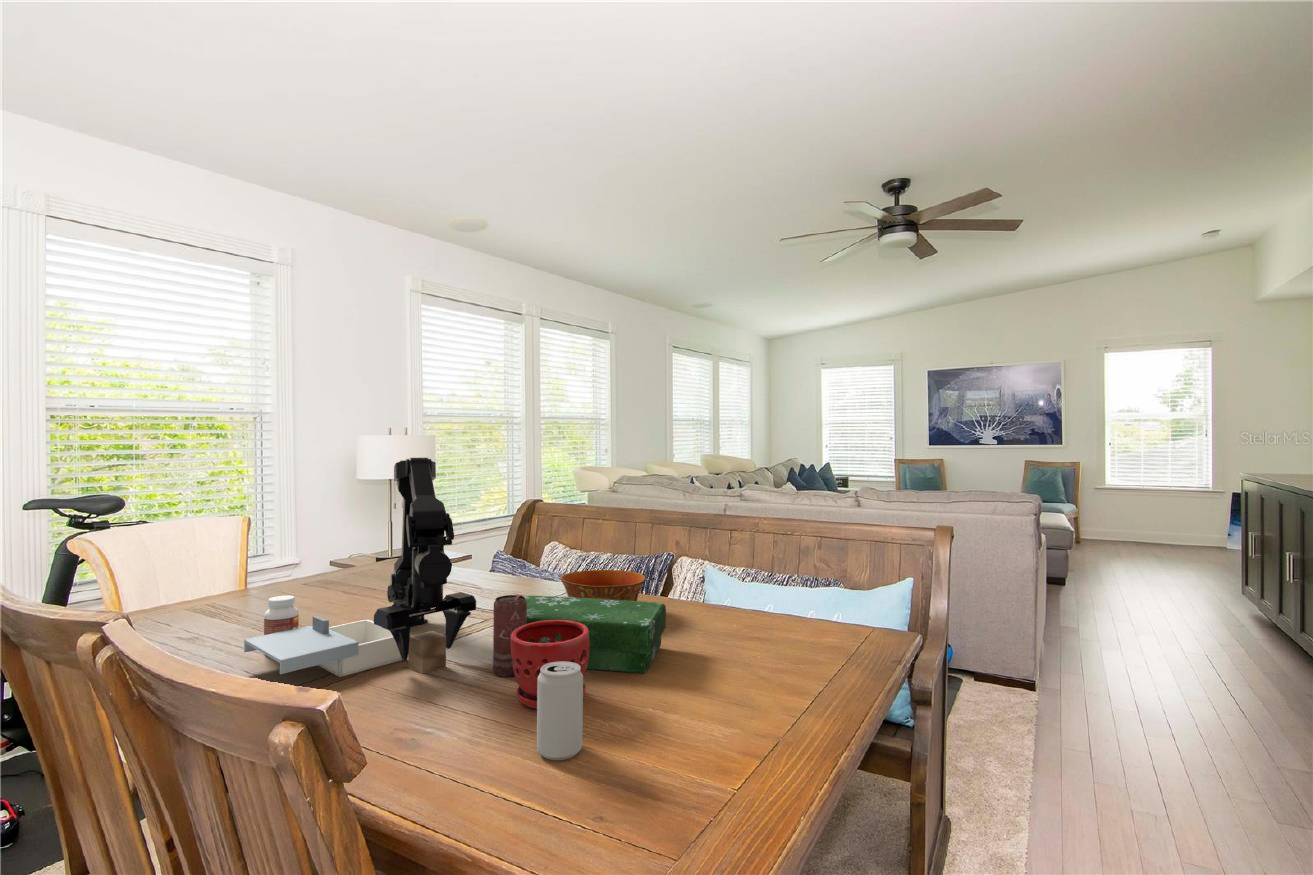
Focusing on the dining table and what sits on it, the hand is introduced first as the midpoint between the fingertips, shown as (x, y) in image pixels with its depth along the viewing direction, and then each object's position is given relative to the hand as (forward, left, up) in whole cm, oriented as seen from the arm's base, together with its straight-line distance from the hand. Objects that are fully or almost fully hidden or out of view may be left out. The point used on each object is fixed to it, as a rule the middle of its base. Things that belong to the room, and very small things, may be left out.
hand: (427, 654), depth 127 cm
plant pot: (-5, +30, -3) cm, 31 cm away
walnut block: (0, 0, -2) cm, 3 cm away
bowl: (-48, 0, -3) cm, 48 cm away
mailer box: (+7, -15, -2) cm, 17 cm away
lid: (+17, -15, +1) cm, 23 cm away
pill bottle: (+15, -30, -3) cm, 34 cm away
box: (-25, +18, -3) cm, 30 cm away
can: (-9, +14, -3) cm, 17 cm away
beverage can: (+6, +45, -3) cm, 46 cm away
